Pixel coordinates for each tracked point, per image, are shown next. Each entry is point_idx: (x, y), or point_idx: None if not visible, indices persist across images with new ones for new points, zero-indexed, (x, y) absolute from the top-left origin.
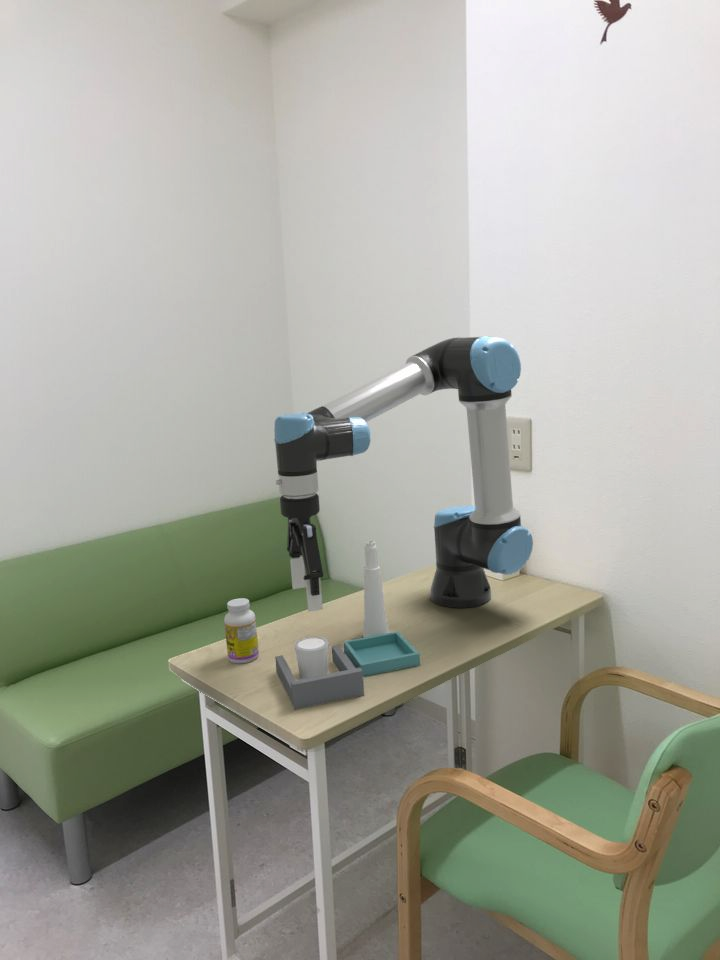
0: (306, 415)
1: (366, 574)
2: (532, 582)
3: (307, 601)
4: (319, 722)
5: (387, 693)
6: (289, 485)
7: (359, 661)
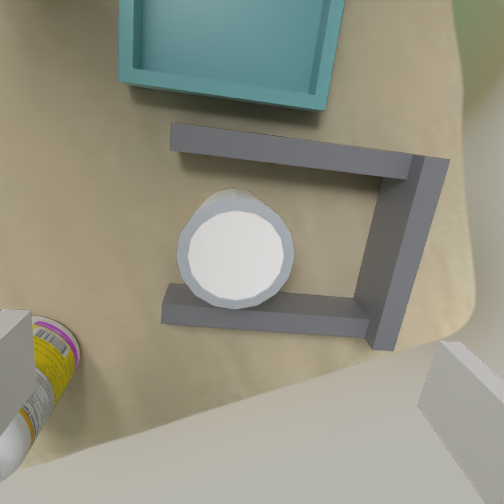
0: None
1: None
2: None
3: (453, 450)
4: (445, 289)
5: (440, 92)
6: None
7: (298, 102)
